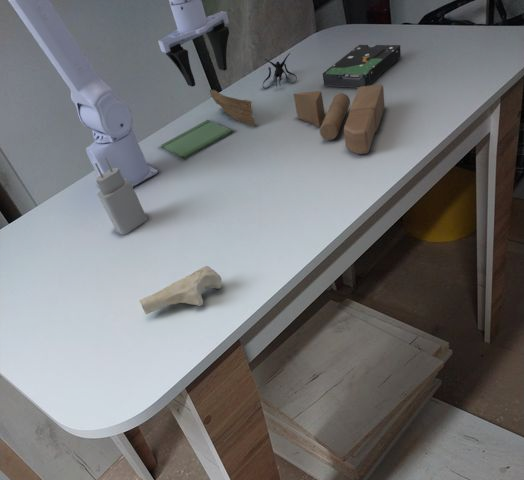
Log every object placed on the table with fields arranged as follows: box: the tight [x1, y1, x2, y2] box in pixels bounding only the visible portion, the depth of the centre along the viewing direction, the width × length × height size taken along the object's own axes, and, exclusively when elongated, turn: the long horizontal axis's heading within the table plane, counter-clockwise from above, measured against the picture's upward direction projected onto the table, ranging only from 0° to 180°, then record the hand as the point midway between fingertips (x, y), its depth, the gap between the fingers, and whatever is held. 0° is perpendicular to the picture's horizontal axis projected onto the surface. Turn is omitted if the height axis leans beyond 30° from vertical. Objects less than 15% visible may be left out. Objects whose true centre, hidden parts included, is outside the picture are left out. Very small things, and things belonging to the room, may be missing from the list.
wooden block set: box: [293, 84, 385, 155], centre depth 94 cm, size 17×6×18 cm
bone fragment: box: [138, 265, 222, 315], centre depth 71 cm, size 5×11×4 cm, turn 111°
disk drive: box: [322, 44, 402, 89], centre depth 111 cm, size 10×3×15 cm
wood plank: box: [209, 89, 256, 127], centre depth 109 cm, size 15×2×5 cm, turn 35°
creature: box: [262, 52, 298, 90], centre depth 117 cm, size 8×5×8 cm
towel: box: [160, 119, 234, 160], centre depth 108 cm, size 12×10×1 cm
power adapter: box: [95, 157, 148, 236], centre depth 86 cm, size 3×5×12 cm, turn 134°
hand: (207, 77), depth 105 cm, fingers open, 7 cm apart
